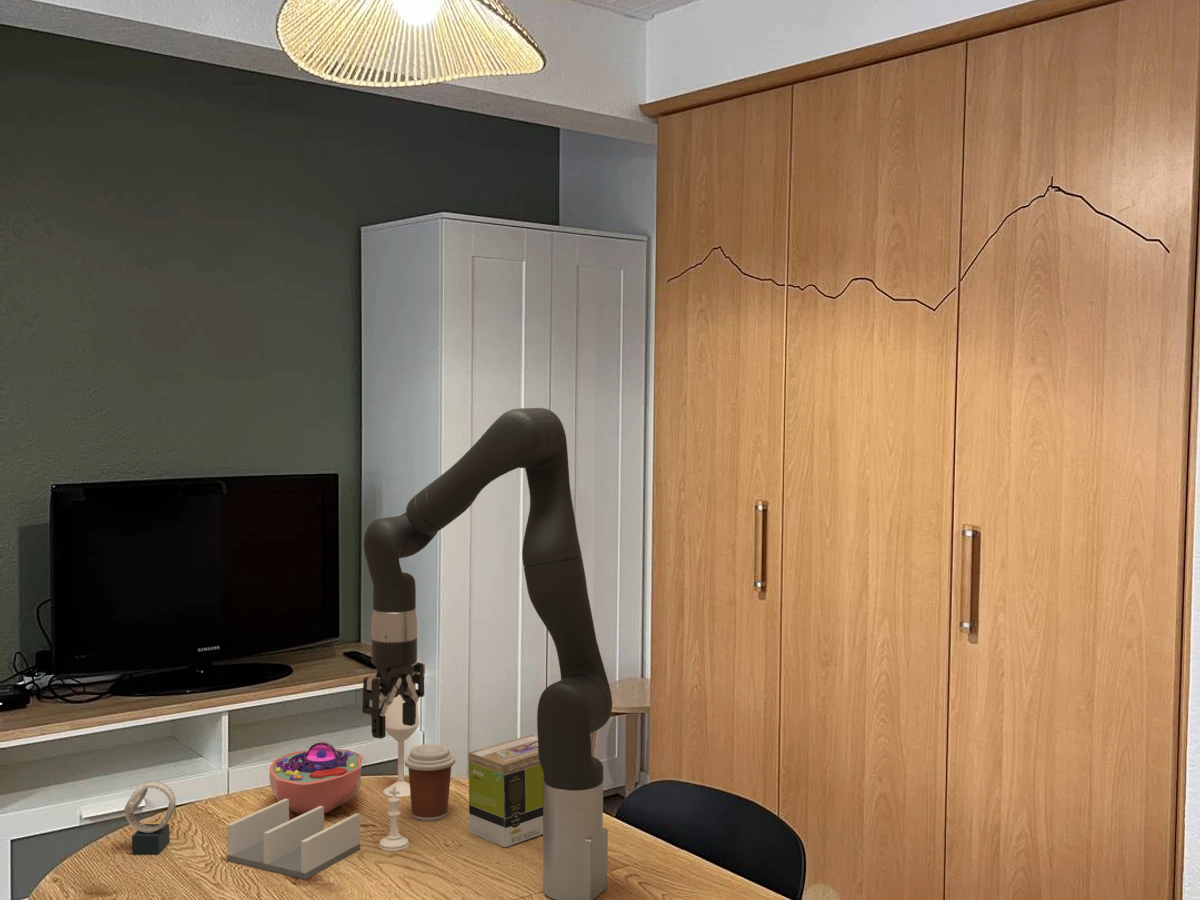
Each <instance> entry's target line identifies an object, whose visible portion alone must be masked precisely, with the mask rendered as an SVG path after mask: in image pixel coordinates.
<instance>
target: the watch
mask: <svg viewBox="0 0 1200 900" xmlns="http://www.w3.org/2000/svg"><path fill="white" fill-rule="evenodd" d="M148 789H156V790H159V791H160V792H162V793H164V795H165V796H166V797H167V799H168V802H169V803H168V807H167V810H166V812H165V815H164V817H163V819H162V820H161V821H160V823H142V822H141V821H139V820H138V819H137V817H136V816H135V811H136V810H137V809H138V807H140V804H141V803H142V802H143V800H144V798H145V797H146V794H147V793H148ZM176 808H177V804H176V795H175V793H174V791H173V789H171V788H170V787H169V786H168V785H167V784H165V783H164V782H160V781H152V780H151V781H148V782H146V783H144V784H143V783H141V784H139V785H138V786H137V788H135V790H134V791H133V793H132V794H131V796H130V797H129V799H128V800H127V802H126V804H125V806H124V809H123V810H124V811H125V818H126V820H127V822H128V824H129V825H130V826H131V827H132V828H133V829H135V830H136V832H134V834H132V836H131V851H132V852H131V854H132V856H134V855H135V856H140V855H141V856H143V855H144V856H145V855H146V856H152V855H153V856H159V855H160V854H161V853H162V852H163V851H164V849H165V848H166V847H167V846H168V845H169V844H170V842H171V841H170V836H171V835H170V824H169V823H168V822H169V821H170V819H171V818H172V817H173V814H174V812H175V810H176Z"/></svg>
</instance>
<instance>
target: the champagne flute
mask: <svg viewBox="0 0 1200 900" xmlns="http://www.w3.org/2000/svg"><path fill="white" fill-rule="evenodd" d="M415 688H416V689H417V687H416V684H415ZM404 702H405V701H403V699H402V697H401V695H398V696H397V697H395V698H394V699H393V702H392V703H391V704H390V705H388V708H387V710H386V713H385V715H384V716H386V733H387V734H388V735H389V736H391V737H392V738H393V739H394V740H395V741H397V781H396V782H393V784H391V785H389V786H388V787H386V788H385V789H384V790H383V791H382V792H383V794H384V795H386V796H389V797H392V794H389V791H390V790H392V788H393V787H396V791H399V794H396V797H399V798H400V797H401V798H403V797H404V798H405V797H409V796H410V797H411V794H410V782H407V781H406V780H405V741H406V740H408V739H409V738H410V737H411V736H412V735H413V734H414V733H415V732H416V731H417V729H418V727H419V724H420V722H419V721H420V720H419V708H418V707H419V706H418V702H417V703H416V719H415V725H412V726H408V725H404V724H403V722H402V715H403V703H404Z"/></svg>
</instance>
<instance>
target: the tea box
mask: <svg viewBox="0 0 1200 900" xmlns="http://www.w3.org/2000/svg"><path fill="white" fill-rule="evenodd" d="M543 781H544V774H543V769H542V767H541V765H540V761H539V755H538V736H535V735H532V734H529V735H525V736H523V737H519V738H515V739H512V740H508V741H504V742H501V743H497V744H494V745H490V746H488V747H487V746H486V747H484V748H480V749H477V750H474V751H470V752H468V815H469V817H468V821H469V823H468V824H469V833H470V834H471V835H474V836H475V837H478V838H481V839H483V840H486V841H488V842H490V843H492V844H494V845H497V846H499V847H502V848H508V847H511V846H513V845H516V844H519V843H522V842H524V841H527V840H530V839H533V838H536V837H540V836H541V835H543Z"/></svg>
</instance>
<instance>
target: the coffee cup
mask: <svg viewBox="0 0 1200 900" xmlns="http://www.w3.org/2000/svg"><path fill="white" fill-rule="evenodd" d="M455 763H456V757H455V755H454V754H452V753H451V752H450V748H449V747H448V746H446V745H444V744H439V743H424V744H419V745H415V746H414V747H412V748H411V749H410V751H409V754H408V755H407V756H405V757H404V767H406V768H408V777H409V778H408V779H409V784H410V794H411V795H410V803H411V817H412V818H413V819H414V820H418V821H424V822H434V821H440V820H443V819H444V818H446V817H448V810H449V797H450V785H451V775H452V766H454V765H455Z"/></svg>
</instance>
